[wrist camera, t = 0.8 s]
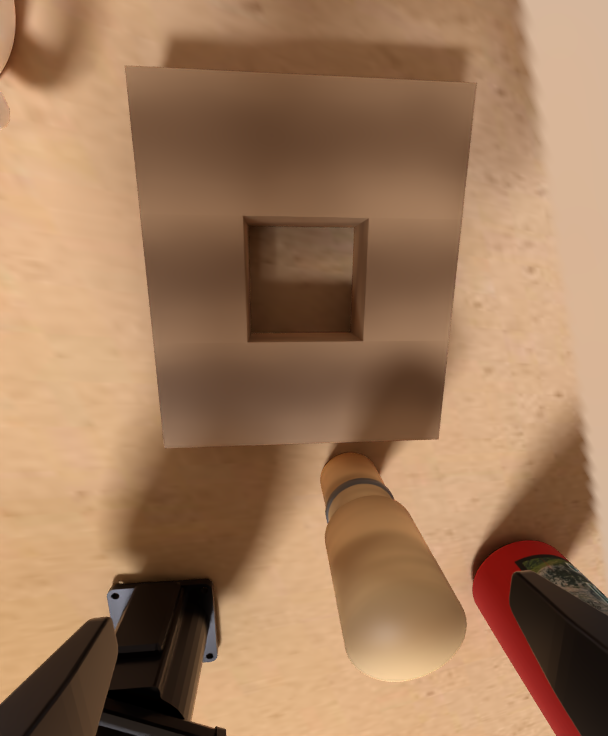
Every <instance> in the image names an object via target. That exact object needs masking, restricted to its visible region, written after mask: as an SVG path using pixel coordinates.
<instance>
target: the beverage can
mask: <svg viewBox="0 0 608 736" xmlns="http://www.w3.org/2000/svg"><path fill="white" fill-rule="evenodd" d="M525 570H531V571H534V572H536V573H537V574H539V575H541V576H542V577H544V578H546V579H547V580H549V581H551V582H553V583H554V584H556V585H558V586H559V587H561V588H563V589H564V590H566V591H568V592H569V593H571V594H573V595H574V596H576V597H578V598H580V599H581V600H583V601H585V602H586V603H588V604H590V605H591V606H593V607H595V608H596V609H598V610H600V611H601V612H603V613H605V614H606V615H608V598H607V597H606V596H605V595H604V594H603V593H602V592H601V591H600V590H599V589H598V588H597V587H596V586H595V585H593V584H592V583H591V582H590V581H589V580H588V579H587V578H586V577H585V576H584V575H583V574H582V573H581V572H580V571H579V570H578V569H577V568H575V567H574V566H573V565H572V564H571V563H570V562H569V561H568V560H567V559H566V558H565V557H564V556H563V555H562V554H561V553H560V552H558V551H557V550H556V549H555V548H554V547H552V546H550V545H548V544H546V543H544V542H540V541H533V540H526V541H518V542H514V543H511V544H508V545H506V546H503V547H501V548H499V549H498V550H496V551H495V552H493V553H492V554H491V555H490V556H489V557H488V558H487V559H486V560H485V561H484V562H483V563H482V564H481V566H480V567H479V569H478V571H477V572H476V575H475V578H474V581H473V589H472V591H473V597H474V600H475V603H476V605H477V606H478V608H479V610H480V611H481V613H482V615H483V616H484V618H485V620H486V621H487V623H488V625H489V626H490V628H491V630H492V631H493V633H494V635H495V636H496V638H497V640H498V641H499V643H500V645H501V646H502V648H503V650H504V651H505V653H506V655H507V656H508V658H509V660H510V661H511V663H512V664H513V666H514V668H515V669H516V671H517V673H518V674H519V676H520V677H521V679H522V681H523V682H524V684H525V686H526V687H527V689H528V690H529V692H530V694H531V695H532V697H533V699H534V700H535V702H536V704H537V705H538V707H539V708H540V710H541V712H542V713H543V715H544V717H545V718H546V720H547V721H548V723H549V725H550V726H551V728H552V730H553V731H554V733H555V734H556V736H581V735H580V733H579V732H578V730H577V728H576V727H575V725H574V723H573V722H572V720H571V719H570V717H569V715H568V714H567V712H566V711H565V709H564V707H563V706H562V704H561V703H560V701H559V699H558V698H557V696H556V694H555V693H554V691H553V689H552V687H551V685H550V684H549V682H548V680H547V678H546V676H545V674H544V672H543V671H542V669H541V667H540V665H539V663H538V661H537V659H536V657H535V655H534V653H533V651H532V650H531V648H530V646H529V644H528V642H527V640H526V638H525V636H524V634H523V632H522V630H521V628H520V627H519V625H518V623H517V621H516V619H515V617H514V615H513V613H512V611H511V608H510V605H509V594H510V586H511V577H512V574H513V573H514V572H516V571H525Z"/></svg>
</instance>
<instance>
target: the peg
mask: <svg viewBox="0 0 608 736" xmlns="http://www.w3.org/2000/svg"><path fill="white" fill-rule="evenodd" d="M320 482H321V487H322V492H323V497H324V501H325V506H326V510H325V512H326V519H327V523H328V525H327V528H326V532H325V544H326V549H327V554H328V560H329V565H330V570H331V576H332V581H333V586H334V591H335V597H336V602H337V607H338V613H339V618H340V623H341V629H342V634H343V639H344V644H345V649H346V653H347V655H348V658H349V659H350V661H351V663H352V664H353V665H354V666H355V667H356V668H357V669H358V670H359V671H360V672H362V673H364V674H365V675H367V676H369V677H371V678H374V679H378V680H382V681H389V682H402V681H409V680H414V679H418V678H421V677H423V676H426V675H428V674H430V673H432V672H434V671H436V670H438V669H439V668H441V667H442V666H443V665H445V664H446V663H447V662H448V661H449V660H450V659H451V658H452V657H453V656H454V655H455V654H456V652H457V651H458V650H459V648H460V646H461V644H462V642H463V640H464V637H465V633H466V626H467V623H466V616H465V612H464V610H463V608H462V606H461V604H460V602H459V600H458V599H457V597H456V595H455V593H454V592H453V590H452V588H451V586H450V585H449V583H448V581H447V579H446V578H445V576H444V574H443V572H442V570H441V569H440V567H439V565H438V563H437V562H436V560H435V558H434V556H433V555H432V553H431V551H430V549H429V548H428V546H427V544H426V542H425V541H424V539H423V537H422V535H421V534H420V532H419V530H418V528H417V526H416V525H415V523H414V521H413V519H412V518H411V516H410V514H409V513H408V511H407V510H406V509H405V507H404V506H403V505H401V504H400V503H399V502H397V501H395V500H394V498H393V496H392V494H391V492H390V491H389V489H388V488H387V487H386V486H385V485H384V483H383V481H382V479H381V477H380V475H379V473H378V471H377V469H376V468H375V466H374V464H373V463H372V461H371V460H370V459H369V458H367V457H366V456H364V455H362V454H359V453H351V452H350V453H343V454H340V455H337V456H335V457H334V458H332V459H331V460H330V461H329V462H328V463H327V464H326V465H325V467H324V468H323V470H322V473H321V478H320Z"/></svg>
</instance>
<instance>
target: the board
mask: <svg viewBox="0 0 608 736" xmlns="http://www.w3.org/2000/svg"><path fill="white" fill-rule="evenodd" d="M125 73H126V83H127V92H128V102H129V112H130V121H131V131H132V140H133V150H134V160H135V169H136V179H137V189H138V198H139V208H140V218H141V227H142V237H143V247H144V256H145V266H146V276H147V285H148V295H149V305H150V314H151V324H152V333H153V343H154V353H155V362H156V372H157V382H158V391H159V401H160V411H161V420H162V430H163V440H164V448H187V447H218V446H248V445H279V444H309V443H340V442H371V441H401V440H432V439H438V438H439V429H440V420H441V410H442V401H443V392H444V382H445V373H446V364H447V354H448V345H449V336H450V326H451V317H452V308H453V298H454V289H455V280H456V270H457V261H458V252H459V242H460V233H461V224H462V214H463V205H464V196H465V186H466V177H467V168H468V158H469V149H470V140H471V130H472V121H473V112H474V102H475V93H476V84H477V83H470V82H449V81H429V80H409V79H388V78H368V77H347V76H327V75H307V74H286V73H266V72H246V71H225V70H205V69H185V68H164V67H144V66H125ZM248 226H296V227H354V247H353V274H352V302H351V329H350V332H295V333H252V331H251V301H250V271H249V241H248Z"/></svg>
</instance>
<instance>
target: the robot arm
mask: <svg viewBox="0 0 608 736" xmlns="http://www.w3.org/2000/svg"><path fill="white" fill-rule="evenodd" d="M203 587H206V588H203ZM116 593H118V594H116ZM107 600H108V605H109V611H110V617H111V618H110V617H100V618H92V619H90V620H88V621H87V622H86V623H85V624H84V625H83V626H82V627H80V628H79V629H78V630H77V631H76V632H75V633H74V634H73V635H72V636H71V637H70V638H69V639H68V640H67V641H66V642H65V643H64V644H63V645H62V646H61V647H60V648H58V649H57V650H56V651H55V652H54V653H53V654H52V655H51V656H50V657H49V658H48V659H47V660H46V661H45V662H44V663H43V664H42V665H41V666H40V667H39V668H38V669H37V670H35V671H34V672H33V673H32V674H31V675H30V676H29V677H28V678H27V679H26V680H25V681H24V682H23V683H22V684H21V685H20V686H19V687H18V688H17V689H16V690H15V691H13V692H12V693H11V694H10V695H9V696H8V697H7V698H6V699H5V700H4V701H3V702H2V703H1V704H0V736H226V729H224V728H220V727H217V726H216V727H215V728H212V727H208V726H205V725H202V724H198V723H195V722H191V720H192V715H193V709H194V704H195V699H196V694H197V688H198V683H199V678H200V672H201V667H202V662H212V661H214V660H216V658H217V654H218V640H217V627H216V613H215V600H214V586H213V582H212V581H211V580H209V579H196V580H179V581H163V582H147V583H130V584H116V585H113V586H112V587H111V588H110V590H109V592H108V594H107ZM509 605H510V608H511V611H512V613H513V615H514V617H515V619H516V621H517V623H518V625H519V627H520V628H521V630H522V632H523V634H524V636H525V638H526V640H527V642H528V644H529V646H530V648H531V650H532V651H533V653H534V655H535V657H536V659H537V661H538V663H539V665H540V667H541V669H542V671H543V672H544V674H545V676H546V678H547V680H548V682H549V684H550V685H551V687H552V689H553V691H554V693H555V694H556V696H557V698H558V699H559V701H560V703H561V704H562V706H563V707H564V709H565V711H566V712H567V714H568V715H569V717H570V719H571V720H572V722H573V723H574V725H575V727H576V728H577V730H578V732H579V733H580V735H581V736H608V615H606V614H605V613H603V612H601V611H600V610H598V609H596V608H595V607H593V606H591V605H590V604H588V603H586V602H585V601H583V600H581V599H580V598H578V597H576V596H574V595H573V594H571V593H569V592H568V591H566V590H564V589H563V588H561V587H559V586H558V585H556V584H554V583H553V582H551V581H549V580H547V579H546V578H544V577H542V576H541V575H539V574H537V573H536V572H534V571H531V570H525V571H516V572H514V573H513V574H512V577H511V586H510V594H509Z"/></svg>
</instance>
